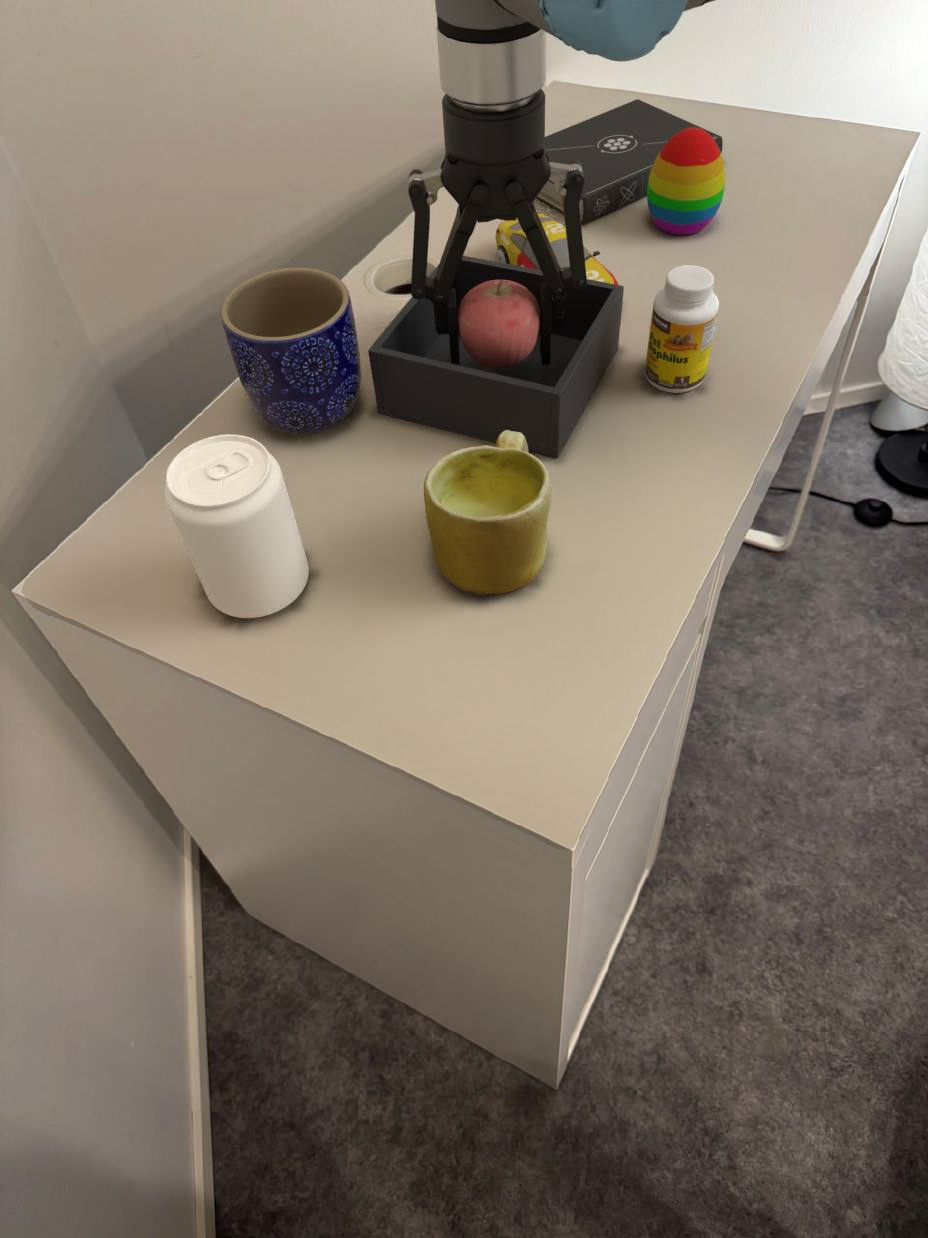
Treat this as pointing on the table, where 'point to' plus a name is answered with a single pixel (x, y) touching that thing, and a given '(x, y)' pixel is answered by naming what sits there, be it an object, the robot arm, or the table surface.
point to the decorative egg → (686, 182)
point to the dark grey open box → (488, 398)
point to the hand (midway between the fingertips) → (500, 357)
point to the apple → (499, 323)
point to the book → (613, 155)
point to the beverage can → (237, 525)
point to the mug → (489, 515)
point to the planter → (295, 347)
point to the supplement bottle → (682, 330)
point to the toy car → (519, 251)
